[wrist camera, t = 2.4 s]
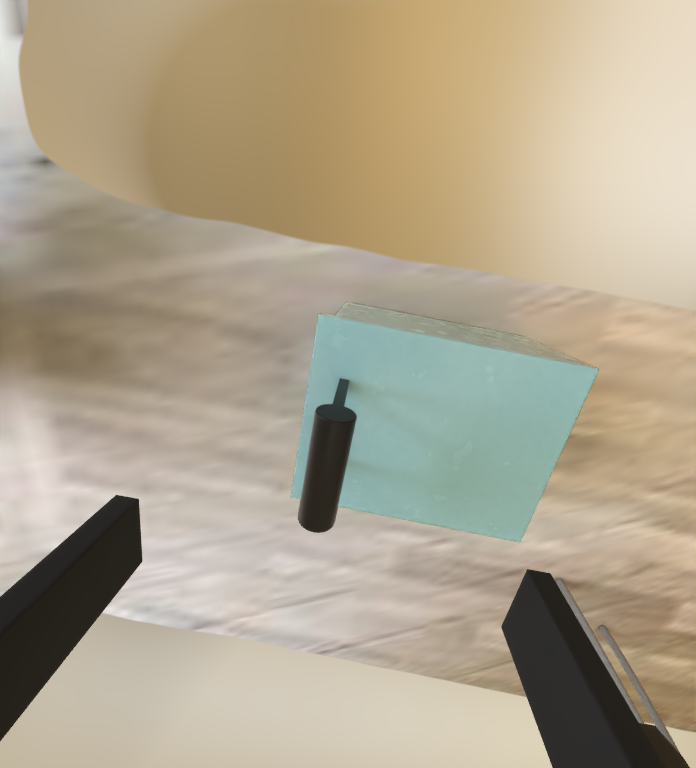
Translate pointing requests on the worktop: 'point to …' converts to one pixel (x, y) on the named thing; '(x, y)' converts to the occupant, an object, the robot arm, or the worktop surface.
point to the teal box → (449, 330)
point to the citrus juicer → (611, 670)
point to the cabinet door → (430, 428)
